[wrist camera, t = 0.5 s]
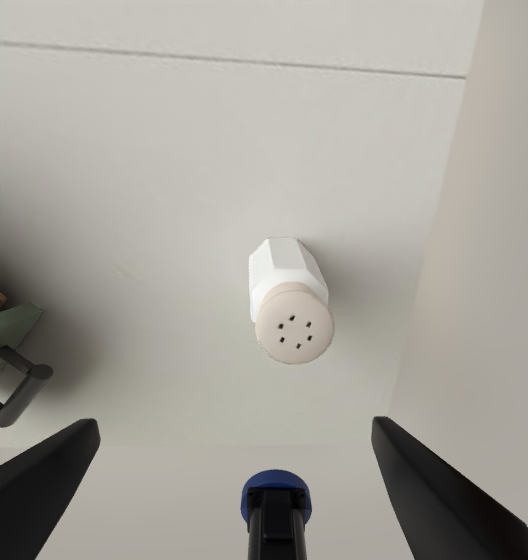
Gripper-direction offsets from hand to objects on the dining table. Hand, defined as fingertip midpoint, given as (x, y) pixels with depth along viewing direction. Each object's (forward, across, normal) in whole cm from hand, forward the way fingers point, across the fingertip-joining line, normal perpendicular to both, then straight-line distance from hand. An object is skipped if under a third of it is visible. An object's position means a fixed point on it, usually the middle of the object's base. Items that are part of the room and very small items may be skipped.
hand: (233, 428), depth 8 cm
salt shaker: (+12, -2, -3) cm, 13 cm away
